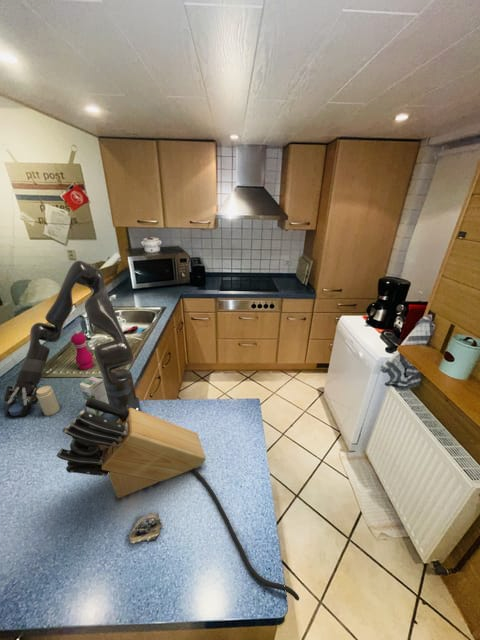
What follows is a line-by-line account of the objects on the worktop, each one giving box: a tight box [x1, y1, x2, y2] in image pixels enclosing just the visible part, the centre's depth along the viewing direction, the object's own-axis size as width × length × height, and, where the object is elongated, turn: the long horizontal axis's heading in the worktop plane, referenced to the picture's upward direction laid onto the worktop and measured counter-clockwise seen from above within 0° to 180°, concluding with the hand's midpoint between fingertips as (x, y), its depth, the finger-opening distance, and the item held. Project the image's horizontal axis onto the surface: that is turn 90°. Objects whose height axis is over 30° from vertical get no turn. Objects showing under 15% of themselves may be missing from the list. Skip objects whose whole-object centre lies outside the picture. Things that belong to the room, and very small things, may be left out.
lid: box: [9, 401, 24, 417], centre depth 98 cm, size 6×6×2 cm
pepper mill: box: [70, 330, 95, 370], centre depth 122 cm, size 7×7×20 cm
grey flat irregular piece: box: [128, 512, 163, 545], centre depth 63 cm, size 7×8×2 cm
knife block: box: [56, 398, 207, 499], centre depth 71 cm, size 11×35×31 cm, turn 113°
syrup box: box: [79, 375, 109, 417], centre depth 97 cm, size 6×6×14 cm
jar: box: [36, 385, 61, 416], centre depth 97 cm, size 5×5×11 cm
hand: (15, 414), depth 97 cm, fingers closed on lid, 5 cm apart
